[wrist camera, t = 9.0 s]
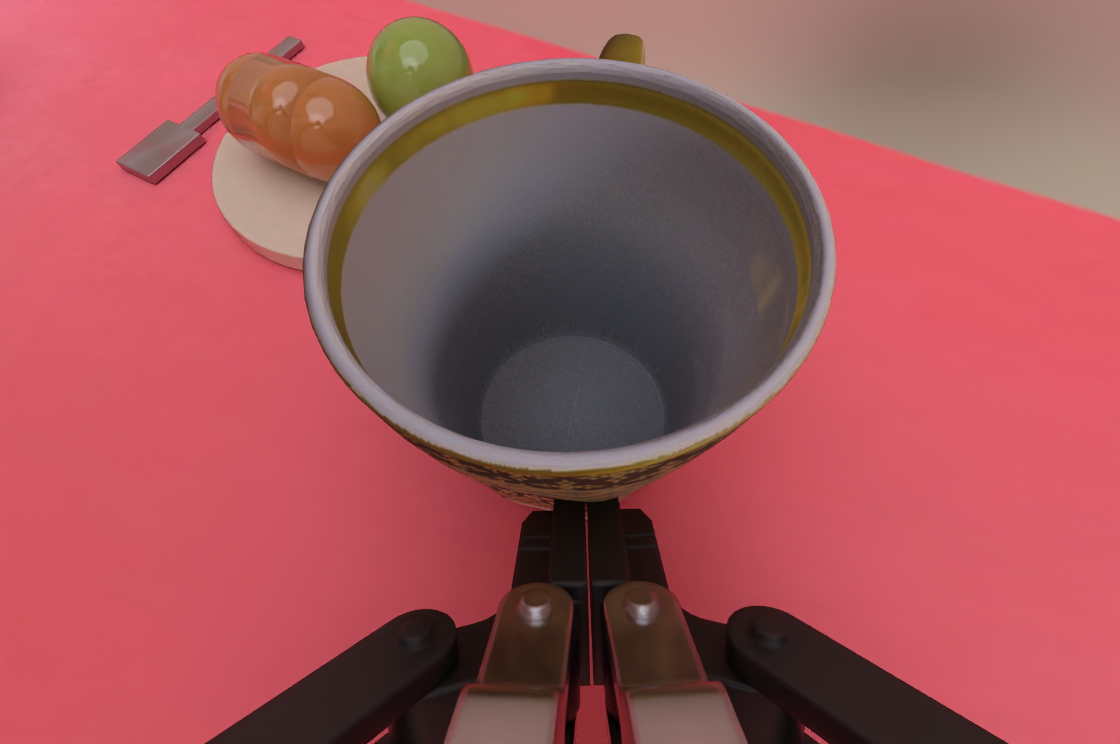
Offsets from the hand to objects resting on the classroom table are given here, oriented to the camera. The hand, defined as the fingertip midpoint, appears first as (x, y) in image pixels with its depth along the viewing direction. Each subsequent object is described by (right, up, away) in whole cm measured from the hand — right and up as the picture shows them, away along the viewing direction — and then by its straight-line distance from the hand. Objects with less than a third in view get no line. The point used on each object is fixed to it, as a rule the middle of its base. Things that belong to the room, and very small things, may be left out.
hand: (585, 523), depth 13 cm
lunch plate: (-9, +13, +12) cm, 21 cm away
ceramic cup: (0, +3, +7) cm, 7 cm away
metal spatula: (-17, +17, +15) cm, 28 cm away
